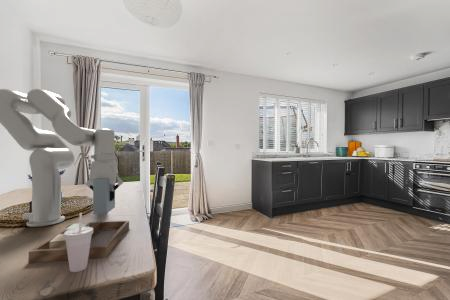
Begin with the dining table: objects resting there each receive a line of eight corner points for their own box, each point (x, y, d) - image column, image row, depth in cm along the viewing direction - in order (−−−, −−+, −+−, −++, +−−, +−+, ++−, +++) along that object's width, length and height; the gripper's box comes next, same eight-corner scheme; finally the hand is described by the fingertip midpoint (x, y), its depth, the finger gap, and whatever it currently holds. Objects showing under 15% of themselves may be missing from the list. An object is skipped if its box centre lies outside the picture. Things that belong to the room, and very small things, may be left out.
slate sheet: (93, 214, 87) (93, 179, 87) (102, 207, 97) (102, 176, 97) (106, 213, 88) (106, 178, 88) (114, 207, 97) (114, 176, 98)
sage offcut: (65, 243, 71) (65, 229, 71) (73, 236, 77) (73, 223, 77) (82, 241, 73) (82, 228, 73) (89, 235, 78) (89, 222, 78)
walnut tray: (28, 262, 58) (28, 251, 58) (74, 230, 82) (74, 223, 82) (106, 257, 62) (106, 246, 62) (129, 228, 85) (129, 220, 85)
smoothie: (98, 261, 59) (98, 210, 59) (83, 275, 53) (84, 217, 53) (74, 262, 59) (74, 210, 59) (56, 275, 52) (57, 217, 53)
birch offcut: (49, 255, 63) (49, 241, 63) (58, 246, 69) (58, 234, 69) (69, 253, 64) (69, 239, 64) (76, 245, 70) (76, 232, 70)
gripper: (78, 158, 87) (78, 203, 87) (123, 157, 90) (123, 201, 90) (87, 157, 95) (86, 199, 94) (128, 157, 97) (128, 198, 97)
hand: (104, 200), depth 92 cm, fingers closed on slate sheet, 5 cm apart
